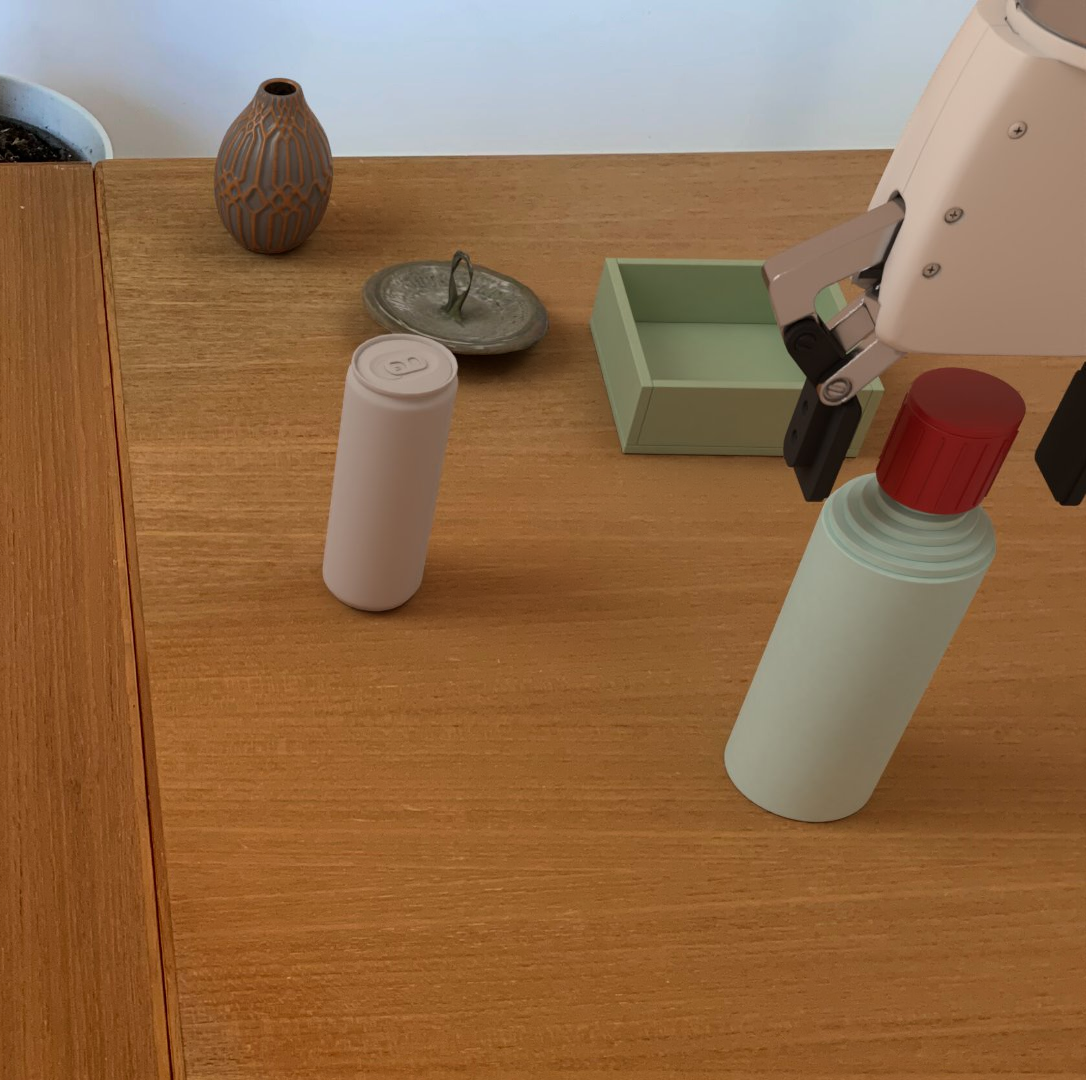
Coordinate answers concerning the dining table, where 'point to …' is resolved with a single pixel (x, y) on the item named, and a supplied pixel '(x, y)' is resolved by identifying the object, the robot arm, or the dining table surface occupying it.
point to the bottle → (854, 650)
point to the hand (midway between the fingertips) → (930, 480)
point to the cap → (949, 440)
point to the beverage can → (388, 469)
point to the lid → (456, 305)
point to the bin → (702, 358)
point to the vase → (273, 170)
